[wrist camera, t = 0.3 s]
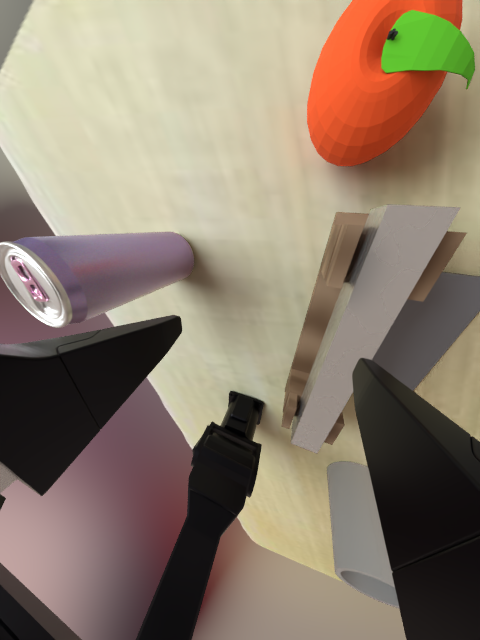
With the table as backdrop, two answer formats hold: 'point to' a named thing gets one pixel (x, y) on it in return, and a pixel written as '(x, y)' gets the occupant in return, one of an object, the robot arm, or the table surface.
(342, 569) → the cup
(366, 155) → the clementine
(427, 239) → the rail
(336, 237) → the rack
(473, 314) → the mat
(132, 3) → the table surface
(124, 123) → the table surface
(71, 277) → the beverage can
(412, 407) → the robot arm
